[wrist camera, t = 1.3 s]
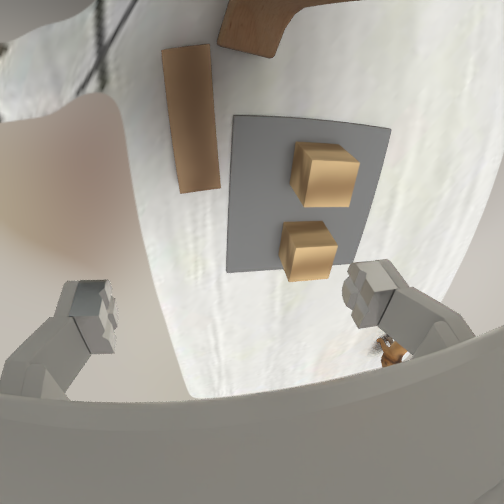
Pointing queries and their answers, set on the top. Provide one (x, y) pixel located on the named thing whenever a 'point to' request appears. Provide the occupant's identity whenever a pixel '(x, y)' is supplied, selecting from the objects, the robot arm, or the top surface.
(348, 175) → the cube
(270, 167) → the mat
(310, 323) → the top surface
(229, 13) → the wooden block
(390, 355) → the lion figurine
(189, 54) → the lintel
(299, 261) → the cube
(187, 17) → the top surface
